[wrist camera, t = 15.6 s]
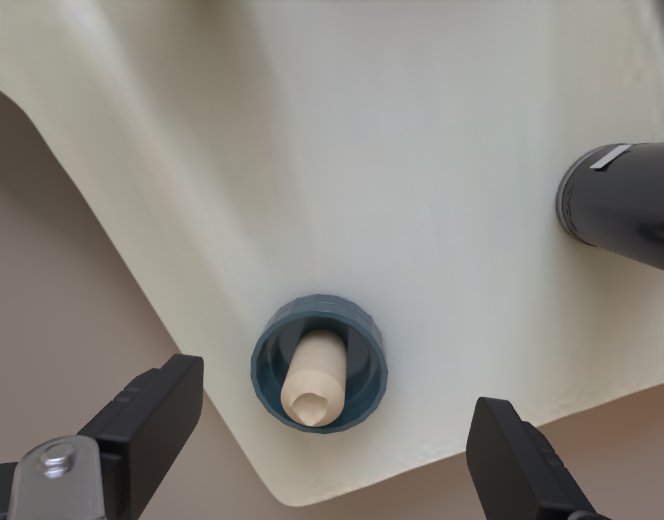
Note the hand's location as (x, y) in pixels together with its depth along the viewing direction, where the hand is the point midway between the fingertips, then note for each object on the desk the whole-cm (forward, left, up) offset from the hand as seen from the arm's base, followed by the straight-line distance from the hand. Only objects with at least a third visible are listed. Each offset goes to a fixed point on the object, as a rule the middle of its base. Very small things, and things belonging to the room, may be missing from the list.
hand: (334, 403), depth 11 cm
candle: (+6, +12, -28) cm, 31 cm away
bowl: (+6, +12, -28) cm, 31 cm away
